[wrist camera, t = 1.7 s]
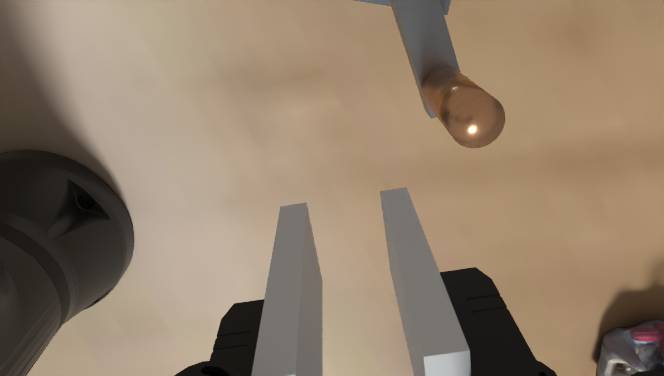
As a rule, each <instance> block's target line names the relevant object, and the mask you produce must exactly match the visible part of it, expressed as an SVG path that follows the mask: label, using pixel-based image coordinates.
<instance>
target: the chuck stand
mask: <svg viewBox="0 0 664 376" xmlns="http://www.w3.org/2000/svg"><path fill="white" fill-rule="evenodd" d="M355 1H362V2H368V3H374V4H381V5H387V6H391V4H390V1H389V0H355ZM450 1H451V0H440V3H441V7H442V10H443V14H444V15H447V14H448V10H449V6H450Z"/></svg>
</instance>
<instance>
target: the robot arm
mask: <svg viewBox="0 0 664 376" xmlns="http://www.w3.org/2000/svg"><path fill="white" fill-rule="evenodd" d="M380 195H381V203H382V211H383V218H384V226H385V233H386V241H387V248H388V256H389V264H390V271H391V276H392V280H393V284H394V289H395V293H396V297H397V302H398V306H399V311H400V315H401V319H402V324H403V328H404V332H405V337H406V341H407V346H408V350H409V354H410V359H411V363H412V367H413V372H414V376H557V375H556V373H555V372H554V371H553V370H552V369H550V368H549V367H547V366H546V365H545V364H543V363H542V362H539V361H537V360H536V359H535V357H534V355H533V354H532V352H531V350H530V348H529V346H528V345H527V343H526V341H525V339H524V337H523V335H522V334H521V332H520V330H519V328H518V326H517V325H516V323H515V321H514V319H513V317H512V315H511V314H510V312H509V310H507V306H506V305H505V303H504V301H503V299H502V297H500V294H499V292H498V290H497V288H496V286H495V284H494V283H493V281H492V279H491V278H489V277H488V276H487V275H485V274H484V273H483V272H481V271H480V270H478V269H477V268H476V267H474V268H467V269H460V270H454V271H447V272H440V273H439V270H438V267H437V265H436V262H435V260H434V257H433V255H432V252H431V249H430V247H429V244H428V242H427V239H426V237H425V234H424V231H423V229H422V226H421V224H420V221H419V219H418V216H417V213H416V211H415V208H414V206H413V203H412V201H411V198H410V195H409V193H408V190H407V188H399V189H392V190H386V191H380ZM133 249H134V233H133V228H132V224H131V220H130V217H129V215H128V213H127V211H126V208H125V207H124V205H123V203H122V201H121V200H120V199H119V197H118V196H117V194H116V193H115V192H114V191H113V190H112V188H111V187H110V186H109V185H108V184H107V183H106V182H105V181H104V180H102V179H101V178H100V177H99V176H98V175H96V174H95V173H94V172H92V171H91V170H89V169H88V168H86V167H84V166H83V165H81V164H79V163H77V162H75V161H73V160H71V159H68V158H66V157H63V156H60V155H57V154H53V153H49V152H43V151H35V150H18V151H11V152H6V153H2V154H0V376H26V375H27V374H28V372H29V371H30V370H31V368H32V367H33V365H34V364H35V362H36V361H37V360H38V358H39V357H40V355H41V354H42V352H43V351H44V350H45V348H46V347H47V345H48V344H49V343H50V341H51V340H52V338H53V337H54V335H55V334H56V333H57V331H58V330H59V329H60V327H61V326H62V325H63V324H64V323H66V322H67V321H68V320H70V319H71V318H72V317H74V316H75V315H77V314H78V313H79V312H81V311H82V310H85V309H87V308H89V307H91V306H93V305H94V304H96V303H98V302H99V301H101V300H102V299H103V298H105V297H106V296H107V295H108V294H109V293H110V292H111V291H112V290H113V289H114V287H115V286H116V285H117V283H118V282H119V280H120V279H121V277H122V276H123V274H124V273H125V271H126V270H127V268H128V266H129V264H130V261H131V258H132V255H133ZM175 376H322V277H321V272H320V267H319V262H318V258H317V253H316V248H315V243H314V238H313V233H312V228H311V223H310V218H309V213H308V208H307V203H301V204H294V205H288V206H281V207H280V213H279V219H278V224H277V230H276V236H275V242H274V248H273V253H272V259H271V265H270V271H269V276H268V282H267V288H266V294H265V299H263V300H256V301H249V302H242V303H235V304H233V306H232V307H231V308H230V309H229V311H228V312H227V313H226V314H225V315H224V317H223V318H222V319H221V323H220V326H219V330H218V333H217V339H216V340H215V344H214V347H213V353H212V354H211V358H210V361H205V362H201V363H198V364H195V365H192V366H189V367H187V368H186V369H184V370H182V371H181V372H179V373H178V374H176V375H175ZM630 376H664V371H658V370H651V371H639V372H637V373H635V374H633V375H630Z"/></svg>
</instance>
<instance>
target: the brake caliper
mask: <svg viewBox="0 0 664 376" xmlns="http://www.w3.org/2000/svg"><path fill="white" fill-rule="evenodd" d="M651 370H658V371H664V321H661V320H648V321H644V322H643V323H641V324H640V325H638V326H636V327H627V328H615V329H613V330H611V331H610V332H608V333H606V334H605V335H604V337H603V342H602V347H601V354H600V357H599V359H598V361H597V368H596V376H630V375H633V374H635V373H637V372H639V371H651Z"/></svg>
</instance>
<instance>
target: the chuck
mask: <svg viewBox="0 0 664 376" xmlns="http://www.w3.org/2000/svg"><path fill="white" fill-rule="evenodd" d="M389 1H390V4H391V7H392V10H393V13H394V16H395V19H396V22H397V25H398V28H399V32H400V35H401V38H402V41H403V44H404V47H405V50H406V53H407V56H408V59H409V62H410V65H411V68H412V71H413V75H414V78H415V81H416V84H417V87H418V90H419V93H420V96H421V99H422V102H423V105H424V108H425V111H426V112H427V113H428V115H429V116H430V117H431V118H434V117H437V118H438V119H439V120H440V121H441V123H442V124H443V125H444V127H445V128H446V129H447V130H448V132H449V133H450V134H451V136H452V137H453V138H454V139H455V141H456V142H458V143H459V144H460V145H462V146H465V147H468V148H480V147H483V146H486V145H488V144H490V143H491V142H493V141H494V140H495V139H496V138H497V137H498V136H499V135H500V133H501V131H502V129H503V127H504V123H505V112H504V109H503V107H502V105H501V104H500V102H499V101H498V100H497V99H495V98H494V97H493V96H491V95H490V94H488V93H487V92H486V91H484V90H483V89H482V88H480V87H479V86H478V85H476V84H475V83H474V82H472V81H471V80H470V79H468V78H467V77H466V76H464V75H463V74H462V73H460V70H459V66H458V63H457V59H456V56H455V52H454V49H453V45H452V42H451V38H450V35H449V31H448V28H447V24H446V21H445V17H444V14H443V10H442V7H441V3H440V0H389Z"/></svg>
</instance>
